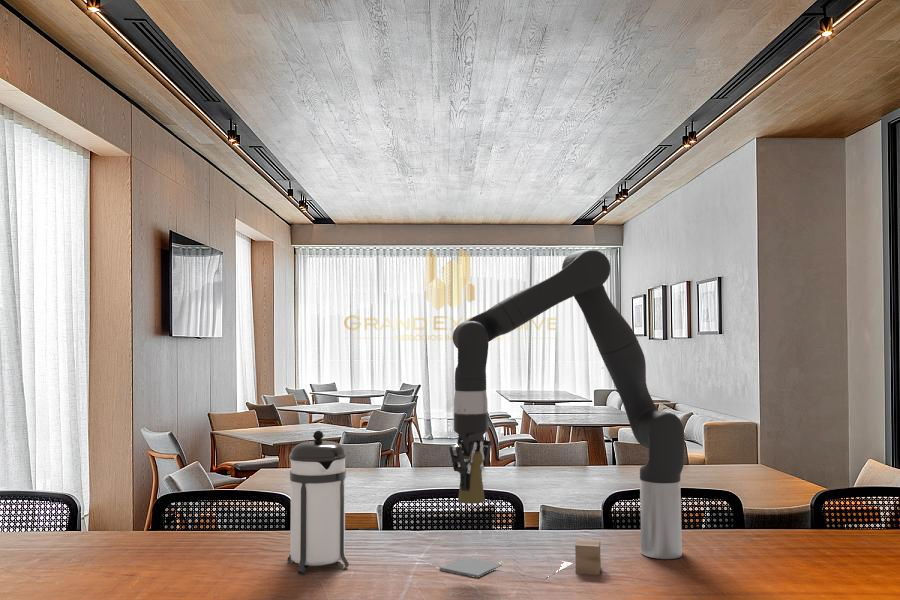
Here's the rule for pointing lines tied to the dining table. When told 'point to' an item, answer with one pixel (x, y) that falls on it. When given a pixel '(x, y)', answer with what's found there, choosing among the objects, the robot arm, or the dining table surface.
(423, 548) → the dining table surface
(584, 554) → the walnut block
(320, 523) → the coffee press
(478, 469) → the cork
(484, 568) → the slate coaster
